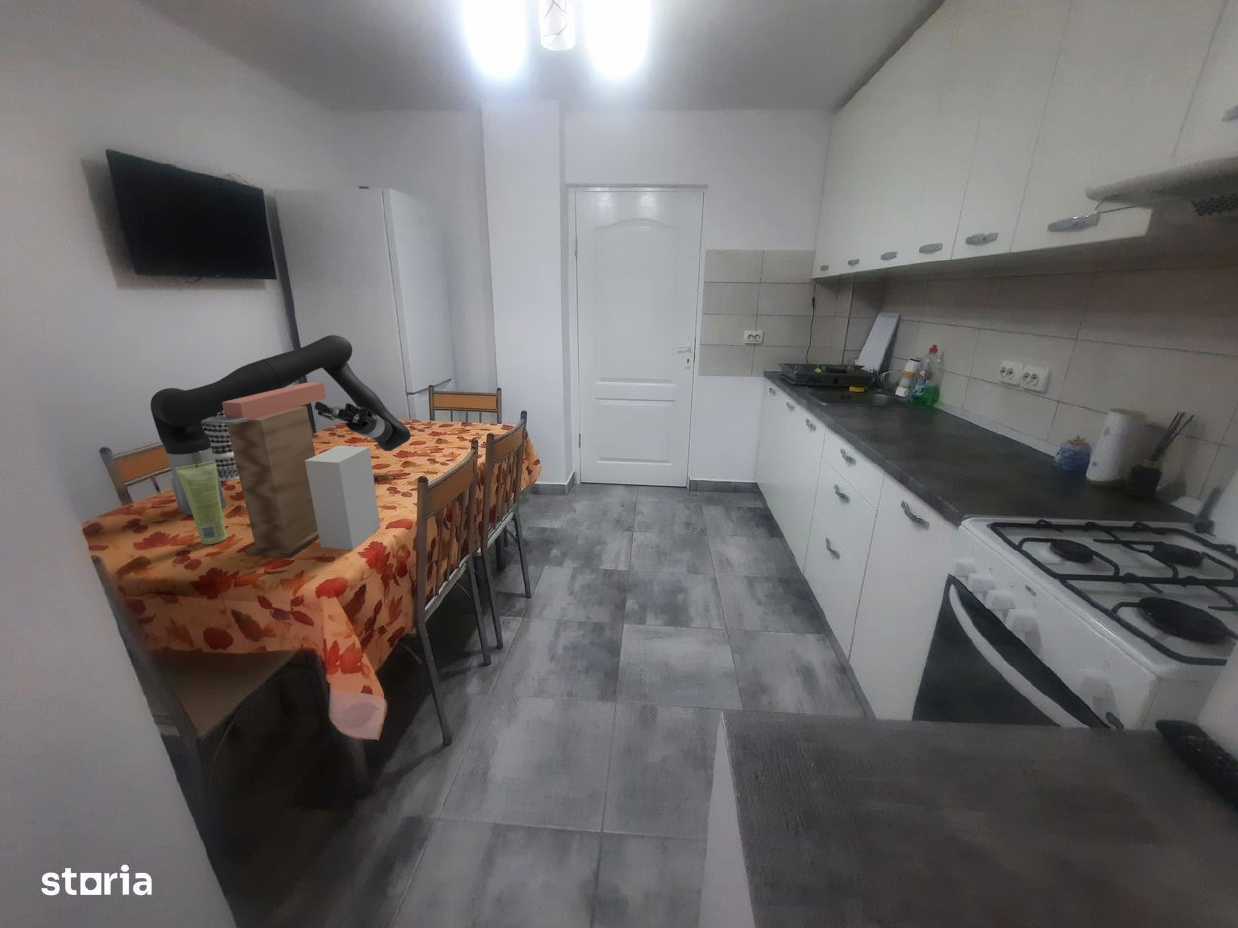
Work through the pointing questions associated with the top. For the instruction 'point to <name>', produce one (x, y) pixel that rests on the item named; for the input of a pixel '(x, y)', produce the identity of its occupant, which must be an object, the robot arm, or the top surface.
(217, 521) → the tube
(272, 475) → the stand
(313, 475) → the light grey rectangular block
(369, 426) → the robot arm
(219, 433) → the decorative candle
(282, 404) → the scraper
